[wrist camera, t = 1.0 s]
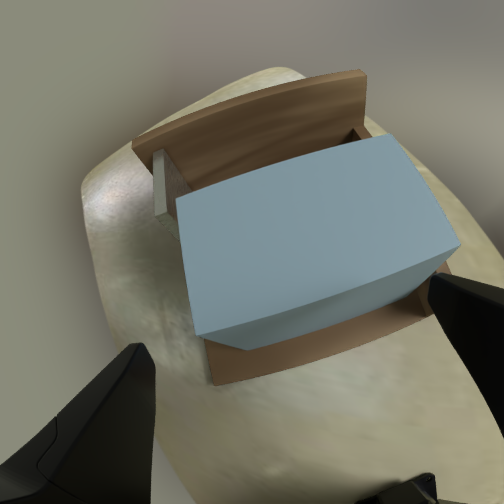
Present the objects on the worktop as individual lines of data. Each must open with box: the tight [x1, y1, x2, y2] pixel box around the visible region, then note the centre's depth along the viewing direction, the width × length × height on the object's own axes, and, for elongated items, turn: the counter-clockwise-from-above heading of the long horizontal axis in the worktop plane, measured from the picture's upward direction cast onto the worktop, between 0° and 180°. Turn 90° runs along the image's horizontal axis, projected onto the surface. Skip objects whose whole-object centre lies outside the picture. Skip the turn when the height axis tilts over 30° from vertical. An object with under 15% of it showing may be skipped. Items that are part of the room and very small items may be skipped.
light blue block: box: [176, 133, 461, 351], centre depth 16 cm, size 7×12×9 cm, turn 104°
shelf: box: [131, 69, 452, 386], centre depth 17 cm, size 16×17×10 cm
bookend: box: [153, 149, 192, 242], centre depth 20 cm, size 6×2×8 cm, turn 14°
